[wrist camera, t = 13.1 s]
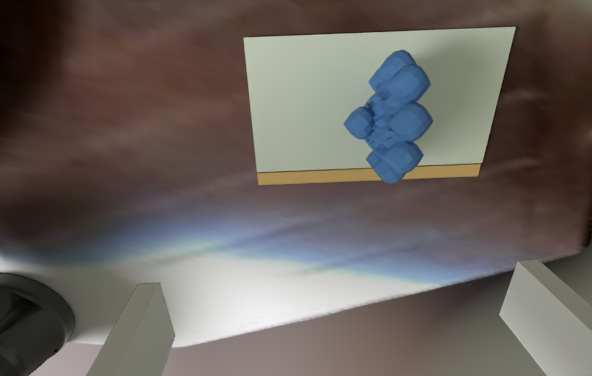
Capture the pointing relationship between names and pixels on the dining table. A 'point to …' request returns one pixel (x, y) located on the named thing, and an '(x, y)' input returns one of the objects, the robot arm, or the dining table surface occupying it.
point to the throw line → (364, 174)
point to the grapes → (393, 117)
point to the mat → (370, 93)
